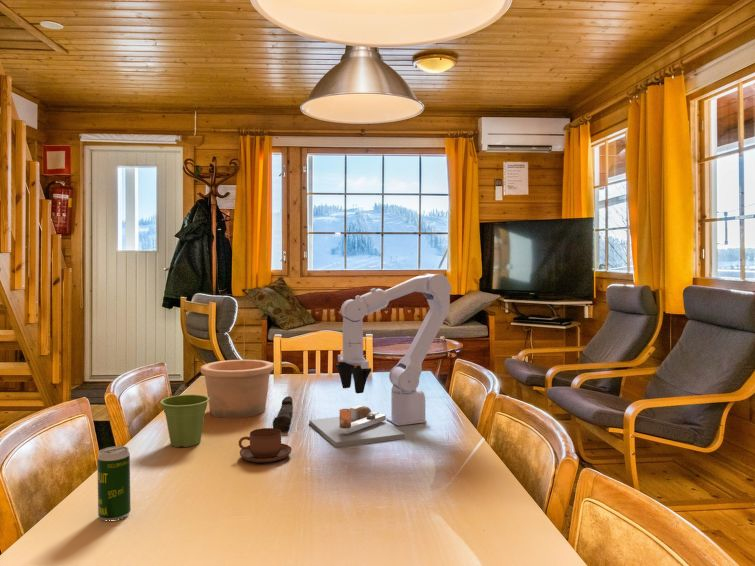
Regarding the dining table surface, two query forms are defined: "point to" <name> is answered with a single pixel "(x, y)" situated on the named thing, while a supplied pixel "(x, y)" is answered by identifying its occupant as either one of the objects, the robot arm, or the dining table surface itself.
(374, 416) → the lever
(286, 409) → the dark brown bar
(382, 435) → the flat white platform
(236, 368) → the pottery
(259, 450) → the cup and saucer
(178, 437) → the plant pot
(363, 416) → the brown sphere
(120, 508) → the beer can
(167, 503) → the dining table surface
